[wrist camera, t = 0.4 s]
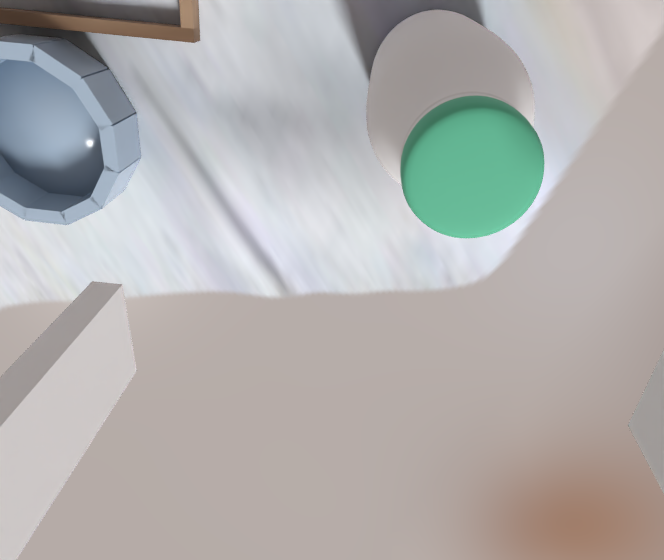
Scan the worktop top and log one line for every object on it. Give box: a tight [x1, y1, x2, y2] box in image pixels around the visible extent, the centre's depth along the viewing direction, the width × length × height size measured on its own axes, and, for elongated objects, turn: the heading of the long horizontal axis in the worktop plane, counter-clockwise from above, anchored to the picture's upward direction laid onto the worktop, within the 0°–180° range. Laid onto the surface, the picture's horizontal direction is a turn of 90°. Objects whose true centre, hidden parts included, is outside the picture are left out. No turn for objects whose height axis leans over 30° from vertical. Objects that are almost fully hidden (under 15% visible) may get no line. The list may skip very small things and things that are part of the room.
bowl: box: [0, 34, 141, 225], centre depth 37 cm, size 12×12×4 cm
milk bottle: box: [366, 10, 544, 238], centre depth 26 cm, size 8×8×20 cm
